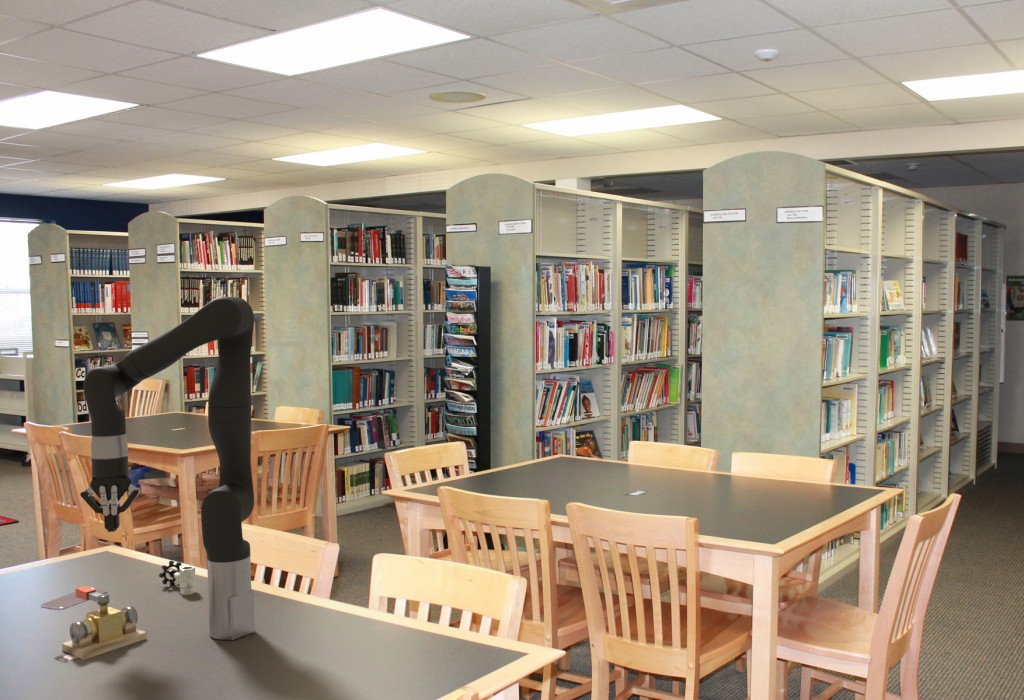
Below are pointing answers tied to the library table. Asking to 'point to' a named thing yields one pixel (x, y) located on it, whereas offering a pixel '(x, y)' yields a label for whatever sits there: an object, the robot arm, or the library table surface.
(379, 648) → the library table surface
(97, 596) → the valve lever
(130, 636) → the pipe board
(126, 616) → the valve body
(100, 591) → the mobile phone
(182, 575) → the valve
